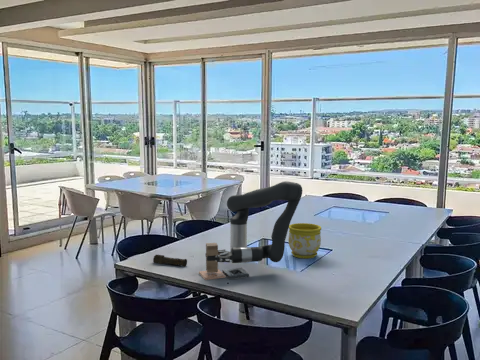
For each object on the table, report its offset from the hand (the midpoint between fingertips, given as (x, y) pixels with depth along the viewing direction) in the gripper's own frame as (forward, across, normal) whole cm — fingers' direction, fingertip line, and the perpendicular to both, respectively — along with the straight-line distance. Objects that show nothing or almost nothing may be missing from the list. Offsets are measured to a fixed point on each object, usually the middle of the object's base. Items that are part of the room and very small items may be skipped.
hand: (206, 256), depth 216 cm
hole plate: (-14, +1, +9) cm, 17 cm away
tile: (-3, 0, +9) cm, 10 cm away
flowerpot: (-58, -25, +10) cm, 63 cm away
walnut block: (-3, 0, +7) cm, 7 cm away
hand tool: (+17, -21, +10) cm, 29 cm away
